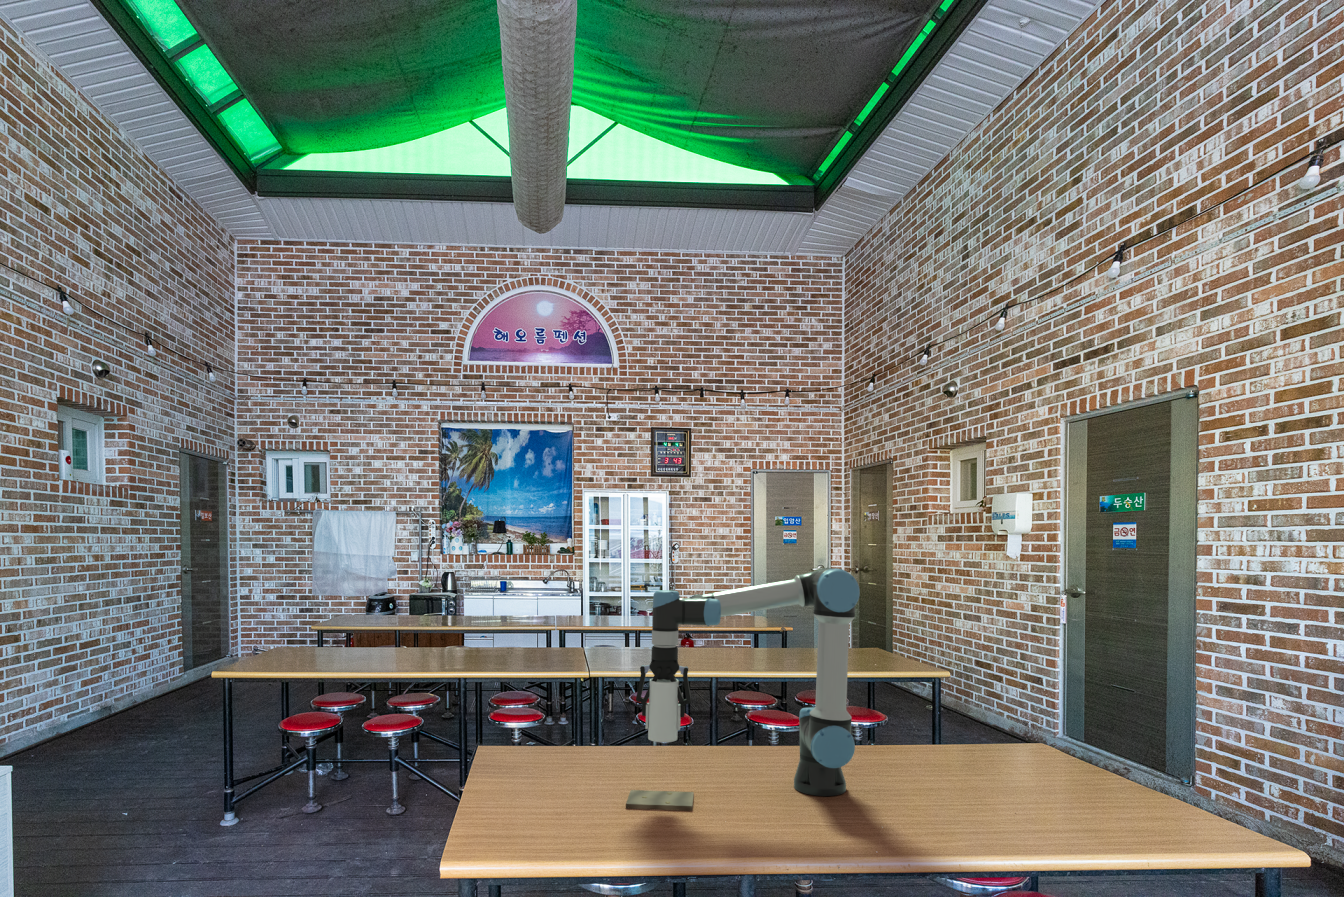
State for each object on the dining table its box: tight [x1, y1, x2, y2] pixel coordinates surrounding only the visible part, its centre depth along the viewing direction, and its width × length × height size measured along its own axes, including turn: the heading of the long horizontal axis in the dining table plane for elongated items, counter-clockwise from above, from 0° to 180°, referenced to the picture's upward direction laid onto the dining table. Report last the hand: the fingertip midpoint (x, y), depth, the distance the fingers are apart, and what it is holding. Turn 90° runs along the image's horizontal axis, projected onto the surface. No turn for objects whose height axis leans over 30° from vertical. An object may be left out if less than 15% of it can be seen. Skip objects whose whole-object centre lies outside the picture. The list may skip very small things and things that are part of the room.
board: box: [625, 789, 695, 812], centre depth 213 cm, size 18×12×1 cm, turn 87°
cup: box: [647, 677, 680, 743], centre depth 216 cm, size 8×8×16 cm
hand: (662, 728), depth 215 cm, fingers closed on cup, 8 cm apart
